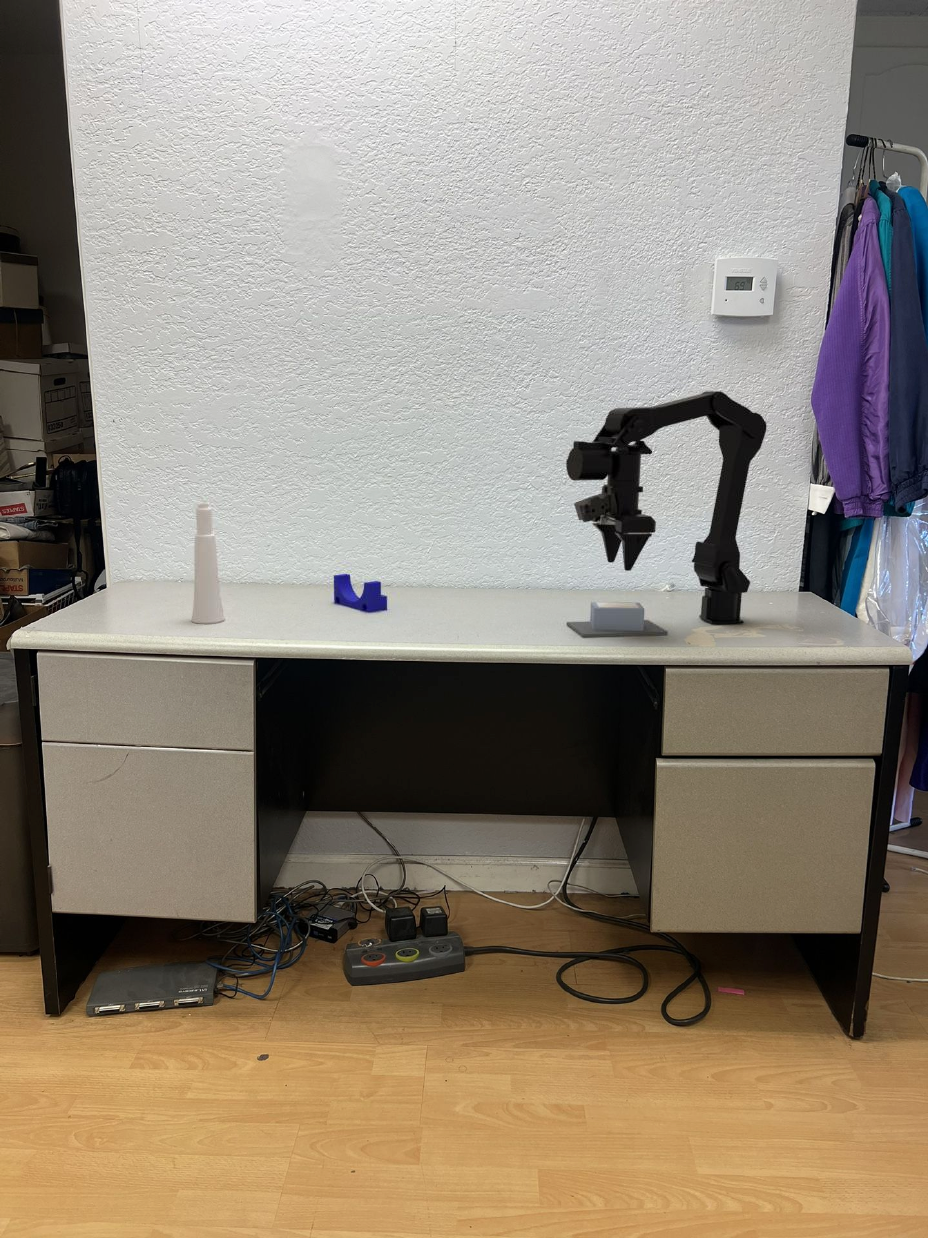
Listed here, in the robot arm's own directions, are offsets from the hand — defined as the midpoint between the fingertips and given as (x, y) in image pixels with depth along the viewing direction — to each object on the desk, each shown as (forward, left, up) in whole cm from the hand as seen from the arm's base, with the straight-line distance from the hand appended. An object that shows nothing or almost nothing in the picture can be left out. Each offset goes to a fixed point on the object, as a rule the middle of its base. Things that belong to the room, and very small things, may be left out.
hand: (619, 566), depth 181 cm
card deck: (0, 0, -11) cm, 11 cm away
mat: (0, 0, -12) cm, 12 cm away
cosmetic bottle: (+74, -17, -12) cm, 77 cm away
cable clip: (+45, -27, -12) cm, 54 cm away
